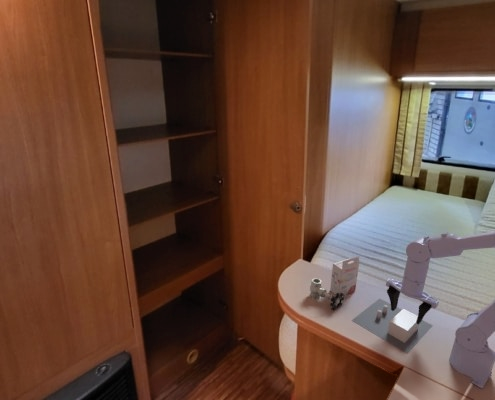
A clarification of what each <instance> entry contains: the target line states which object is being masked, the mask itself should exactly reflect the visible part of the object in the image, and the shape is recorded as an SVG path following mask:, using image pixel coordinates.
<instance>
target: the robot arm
mask: <svg viewBox="0 0 495 400" xmlns="http://www.w3.org/2000/svg"><path fill="white" fill-rule="evenodd" d="M492 248H495V230H492V231H487V232H486V231H485V232H483V233H482V232H481V233H476V234H471V235H470V234H469V235H466V236H459V235H457V234H455V233H449V232H442V233H441V234H440V235H438V236H437V235H436V236H429V235H426V236H424V237H418V238H416V239H415V240H413V241H412V242H410V243H408V245H407V246H406V248H405V254H406V255H407V259H406V262H405V268H404V272H403V277H402V281H399V280H396V279H392V278H388V279H387V280H386V281H385V286H386V287H388V288H387V289H386V293H387V296H388V299H389V302H390V304H391V310H392V311H394V310H395V309H396V308H397V307H398V302H399V297H400V295H401V294H402V295H404V296H405V297H407V298H410V299H414V300H417V301H420V302H422V303H421V304H419V306H418V313H417V316H418V317H417V321H416V323H417V324H420V322H421V321H422V320H423V318H424V317H425V315H426V314H427V313H428V312H429V311H430V310H431V309H433V310H436V309H437V308H438V306H439V301H440V300H439V299H436V298H434V297H433V296H431V295H430V294H428V293H427V292H426V291H424V288H425V284H426V279H427V275H428V271H429V267H430V262H431V259H439V258H440V259H441V258H447V257H448V258H449V257H457V256H460V255H462V253H463V251H469V250H480V249H482V250H483V249H492ZM494 333H495V299H494V300H493V301H491V303H489V304H488V305H487V306H486V307H484V308H481V310H479V311H476V312H471V313H469V314H468V315H467V316H466V319H465V320H464V321H463V322H462V324H461V325H460V326H459V327H457V329H456V330H455V333H454V335H455V337H454V341H453V344H452V348H451V352H450V355H449V359H448V362H449V365H451V366H452V368H453V369H454V370H456V371H457V372H458V373H460V374H462V375H464V376H467V377H469V378H472V379H471V381H470V383H471V384H473V385H475V386H477V387H478V388H480V389H484V387H485V385H486V383H487V381H488V379H491V378H492V373H493V371H492V370H493V368H494V365H495V351H494V350H493V349H492V348H490V346H489V341H488V339H489V338H490V337H491V336H492V335H493V334H494Z"/></svg>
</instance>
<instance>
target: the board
mask: <svg viewBox="0 0 495 400" xmlns="http://www.w3.org/2000/svg"><path fill="white" fill-rule="evenodd" d="M401 310H402V308H399V307H398V306H397V308H396V309H395V310H394V311H392V310H391V303H389V302H387V301H385V300H383V299H381V298H378V299H377V300H376V301H374V302H373V303H372V304H371V305H369V306H368V307H367V308H366V309H364V310H363V311H362V312H360V313H359V314H358V315H357V316H355V317H354V318H353V319H351V321H352V322H354V323H356V325H358V326H360V327H362V328H363V329H366V331H368V332H370V333H371V334H374V335H376V337H379V338H380V339H381V340H384V341H385V342H387V343H388V344H390V345H392V346H394V347H396V348H397V349H399V350H400V351H402V352H404V353H406V354H408V353H409V352H410V351H411V350H412V349H413V348H414V347H415V346H416V344H418V343H419V341H420V340H422V338H423V337H424V336H425V334H427V333H428V332H429V330H431V328H432V327H433V324H431V323H429V322H427V321H425V320H423V319H422V321H421V322H420V324H419V327H418V330H417V331H416V332H415V333H414V334H413V335H412V336H411V337H410V338H409V339H408V340H407V341H406V342H405V343H404V342H402V341H400V340H399V339H397V338H395V337H394V336H392V335H390V334H388V333H387V332H388V327H389V322H390V320H391V319H393V318H394V317H395V316H396V315H397V314H398V313H399V312H400V311H401Z"/></svg>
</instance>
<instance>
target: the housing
mask: <svg viewBox="0 0 495 400" xmlns="http://www.w3.org/2000/svg"><path fill="white" fill-rule="evenodd" d="M417 317H418V314H417V315H416V314H415V313H412V312H411V311H409V310H407V309H405V308H402V309H401V311H400V312H399V313H398V314H397V315H396V316H395V317H394V318H393V319H391V320H390V322H389V327H388V332H387V333H388V334H390V335H392V336H394V337H395V338H397V339H399V340H400V341H402V342H404V343H405V342H406V341H407V340H408V339H409V338H410V337H411V336H412V335H413V334H414V333H415V332H416V331H417V330H418V327H419V324H417V323H416V321H417Z"/></svg>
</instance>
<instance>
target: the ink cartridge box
mask: <svg viewBox="0 0 495 400" xmlns="http://www.w3.org/2000/svg"><path fill="white" fill-rule="evenodd" d="M359 266H360V256H355V257H352V258H349V257H348V258H346V259H343V260H340V261H337V262H333V263H332V267H331V268H332V270H331V277H330V278H331V281H330V289H329V291H330V292H331V293H333V294H334V295H336V294H337V293H339V294H340V293H343V294H344V295H343V296H345V295H347V294H351V293H352V292H355V291H356V289H357V288H356V287H357V281H358V273H359ZM340 295H341V294H340Z"/></svg>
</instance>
